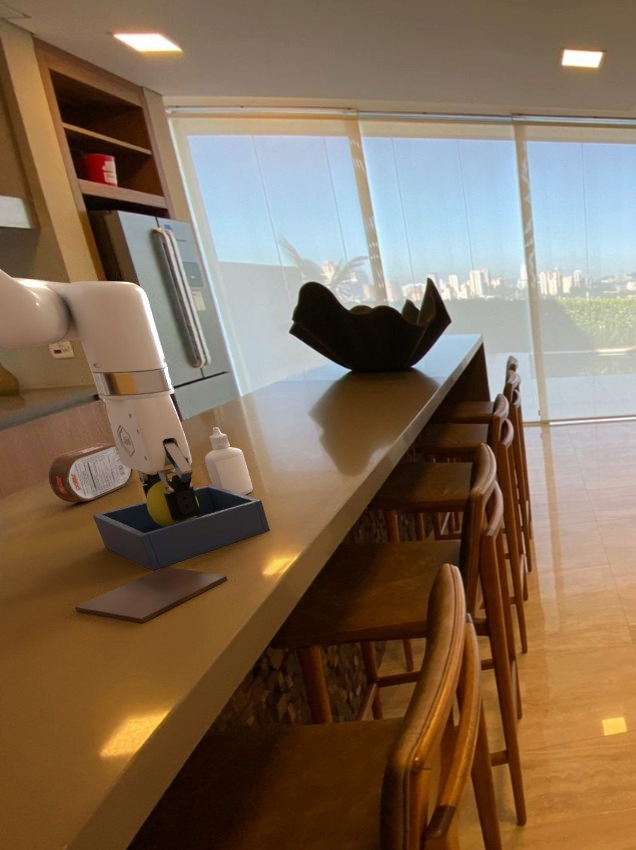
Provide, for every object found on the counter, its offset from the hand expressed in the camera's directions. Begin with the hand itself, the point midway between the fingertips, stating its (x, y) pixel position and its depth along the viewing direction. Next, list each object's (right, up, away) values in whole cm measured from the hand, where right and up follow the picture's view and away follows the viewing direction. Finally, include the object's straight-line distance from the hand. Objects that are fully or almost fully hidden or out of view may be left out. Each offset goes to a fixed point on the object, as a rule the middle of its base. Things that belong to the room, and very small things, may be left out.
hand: (175, 512), depth 80 cm
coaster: (+9, -10, -13) cm, 19 cm away
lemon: (0, -3, +1) cm, 3 cm away
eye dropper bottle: (-5, +3, +19) cm, 20 cm away
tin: (-30, +3, +20) cm, 36 cm away
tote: (+1, -4, +2) cm, 4 cm away
